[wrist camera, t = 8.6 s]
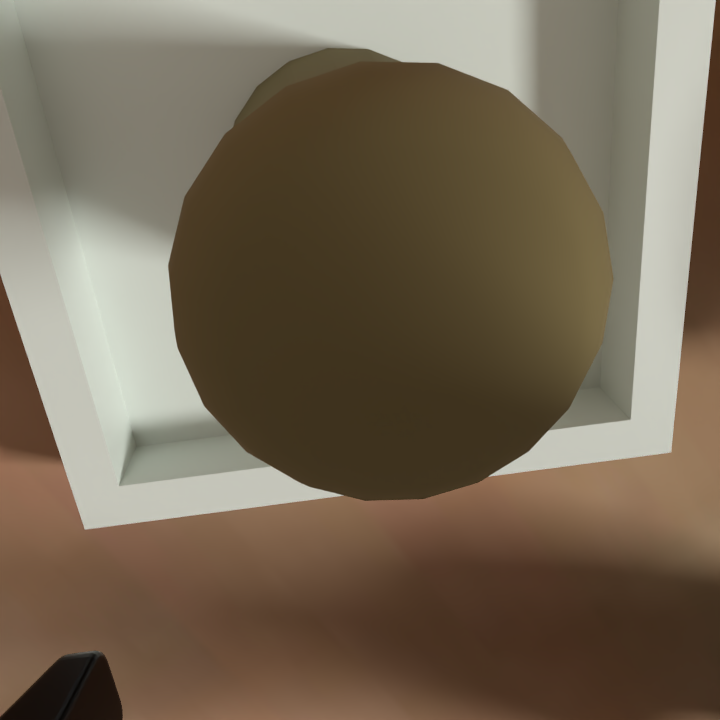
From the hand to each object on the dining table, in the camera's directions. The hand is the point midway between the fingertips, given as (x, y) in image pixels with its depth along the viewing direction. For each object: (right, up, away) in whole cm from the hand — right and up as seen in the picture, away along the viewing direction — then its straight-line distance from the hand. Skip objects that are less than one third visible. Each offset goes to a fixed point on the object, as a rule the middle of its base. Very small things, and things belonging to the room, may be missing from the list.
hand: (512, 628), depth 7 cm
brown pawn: (-2, +8, +9) cm, 12 cm away
